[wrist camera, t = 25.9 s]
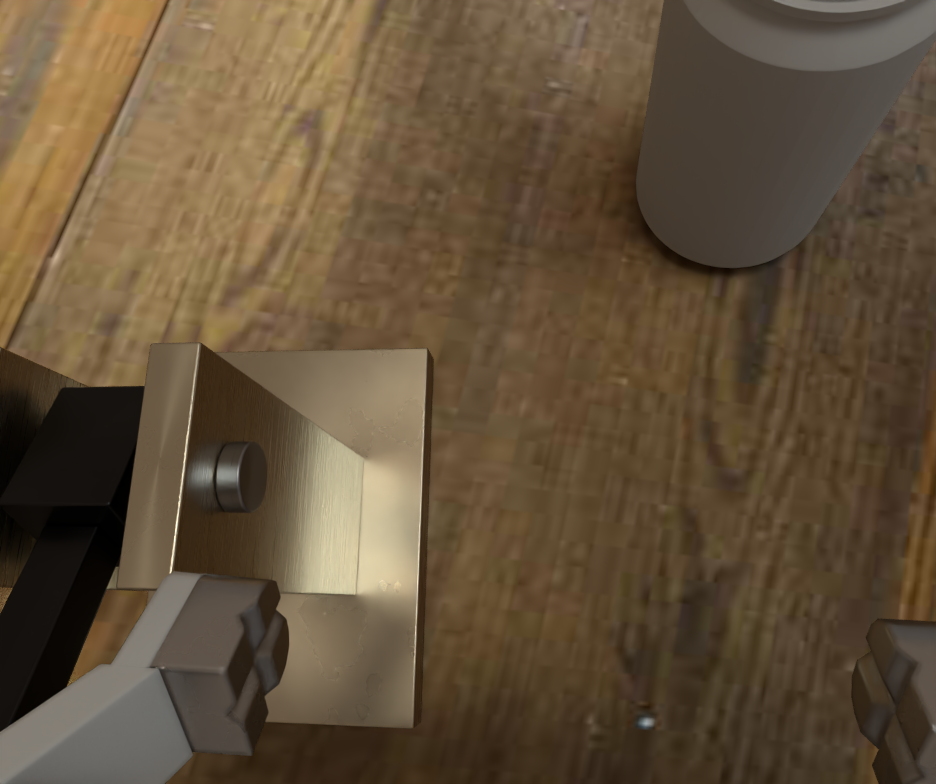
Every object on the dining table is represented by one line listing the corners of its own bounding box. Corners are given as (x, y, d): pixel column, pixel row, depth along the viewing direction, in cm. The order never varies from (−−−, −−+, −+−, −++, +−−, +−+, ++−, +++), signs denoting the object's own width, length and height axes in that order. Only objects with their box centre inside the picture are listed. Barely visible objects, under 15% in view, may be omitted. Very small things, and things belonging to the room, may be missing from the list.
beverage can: (766, 308, 26) (930, 71, 14) (600, 228, 27) (625, -44, 16) (849, 162, 27) (1062, -170, 15) (684, 93, 28) (765, -255, 17)
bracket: (421, 722, 23) (263, 856, 11) (151, 711, 25) (-261, 820, 12) (433, 358, 27) (322, 151, 14) (194, 362, 28) (-98, 174, 16)
